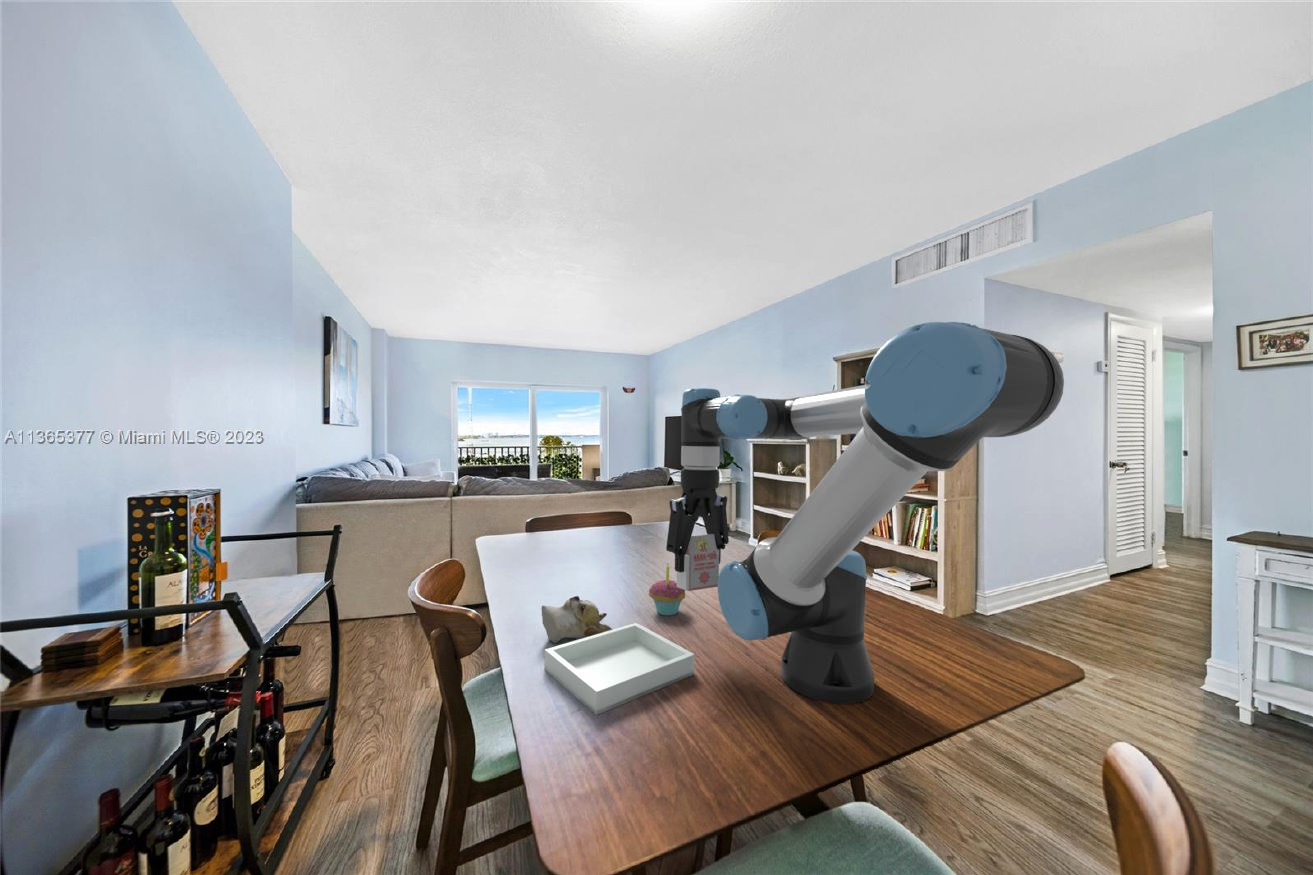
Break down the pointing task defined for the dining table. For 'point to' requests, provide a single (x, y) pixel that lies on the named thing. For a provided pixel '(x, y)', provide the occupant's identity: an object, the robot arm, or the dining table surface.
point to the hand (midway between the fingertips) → (698, 584)
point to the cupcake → (667, 595)
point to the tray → (617, 666)
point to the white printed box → (702, 562)
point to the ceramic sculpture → (573, 620)
